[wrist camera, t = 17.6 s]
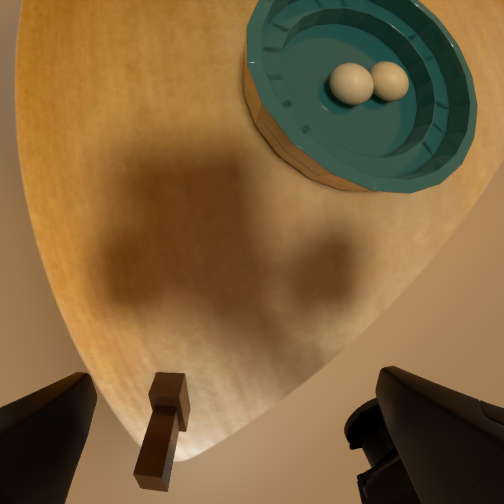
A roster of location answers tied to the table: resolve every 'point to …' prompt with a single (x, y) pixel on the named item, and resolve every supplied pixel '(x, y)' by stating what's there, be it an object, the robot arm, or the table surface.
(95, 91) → the table surface
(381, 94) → the dumpling
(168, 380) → the brown block
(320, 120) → the mixing bowl
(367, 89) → the dumpling
